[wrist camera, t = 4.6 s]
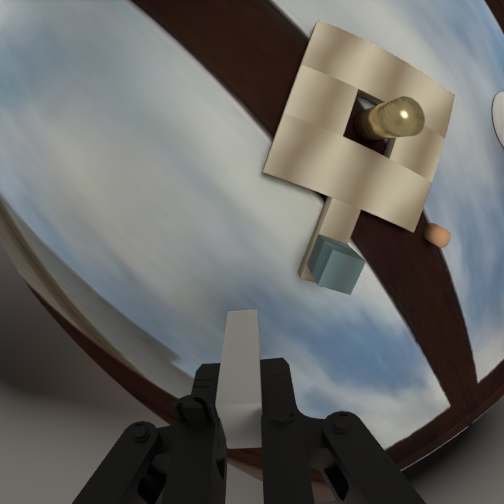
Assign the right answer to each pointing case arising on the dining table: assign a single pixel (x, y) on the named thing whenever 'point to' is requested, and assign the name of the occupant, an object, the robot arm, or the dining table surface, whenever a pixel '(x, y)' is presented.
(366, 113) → the post
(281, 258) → the dining table surface
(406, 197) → the light wooden flat board
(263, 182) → the dining table surface
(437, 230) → the dowel
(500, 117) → the wineglass
